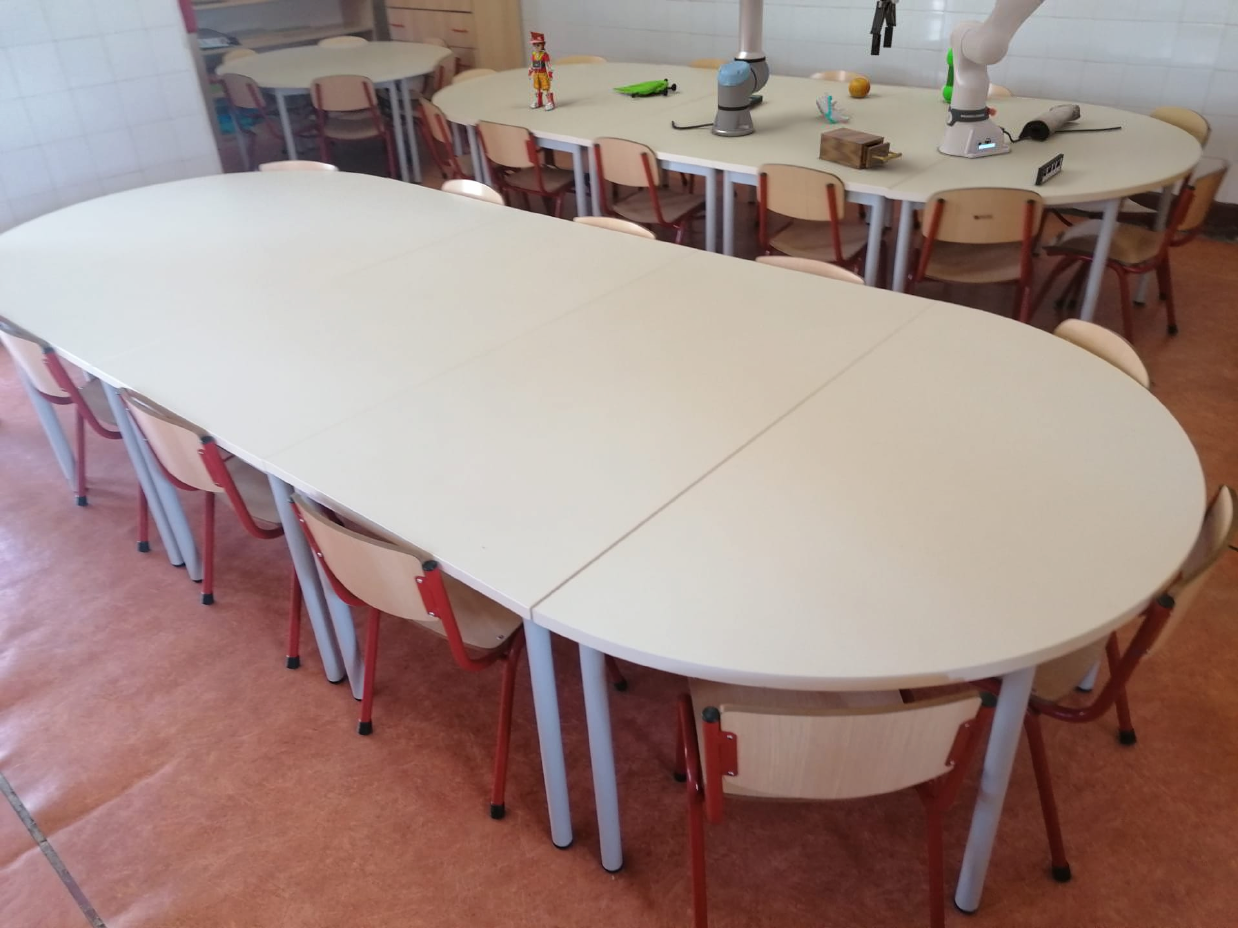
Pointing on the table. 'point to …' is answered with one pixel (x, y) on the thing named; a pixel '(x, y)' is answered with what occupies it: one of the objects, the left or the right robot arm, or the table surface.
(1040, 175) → the midi keyboard
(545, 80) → the toy
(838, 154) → the wooden box
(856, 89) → the fruit
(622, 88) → the toy
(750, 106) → the disk drive
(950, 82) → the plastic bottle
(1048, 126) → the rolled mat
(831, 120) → the anatomical model
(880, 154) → the drawer
